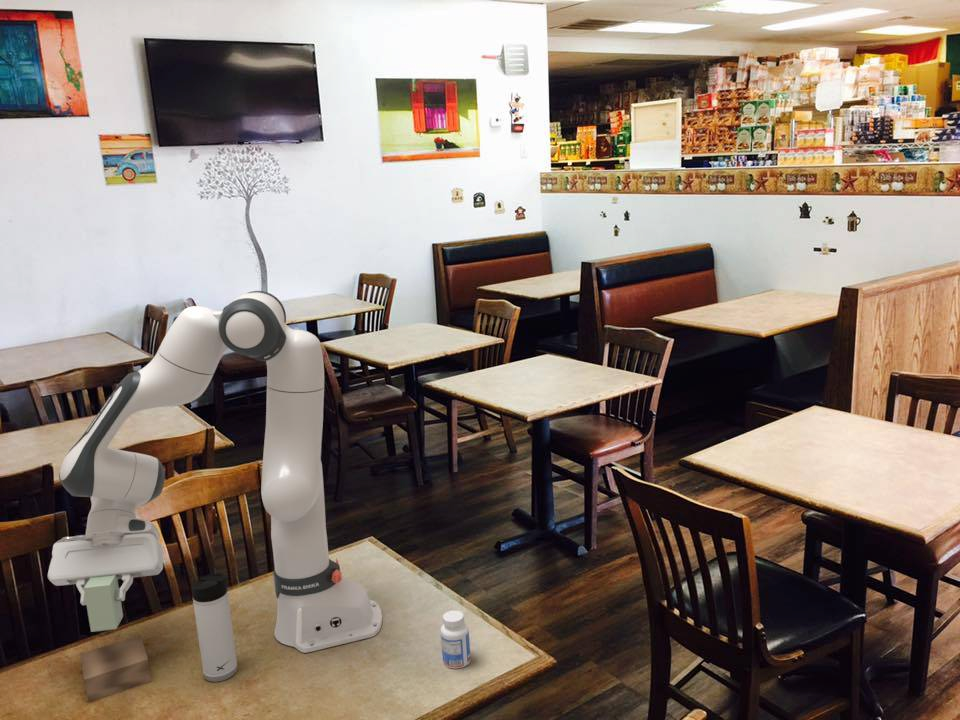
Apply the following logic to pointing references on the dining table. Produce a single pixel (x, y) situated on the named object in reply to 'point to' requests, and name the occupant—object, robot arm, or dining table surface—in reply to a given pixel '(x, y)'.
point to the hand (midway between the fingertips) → (102, 602)
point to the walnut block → (115, 668)
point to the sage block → (103, 603)
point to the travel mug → (214, 627)
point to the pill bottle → (455, 640)
